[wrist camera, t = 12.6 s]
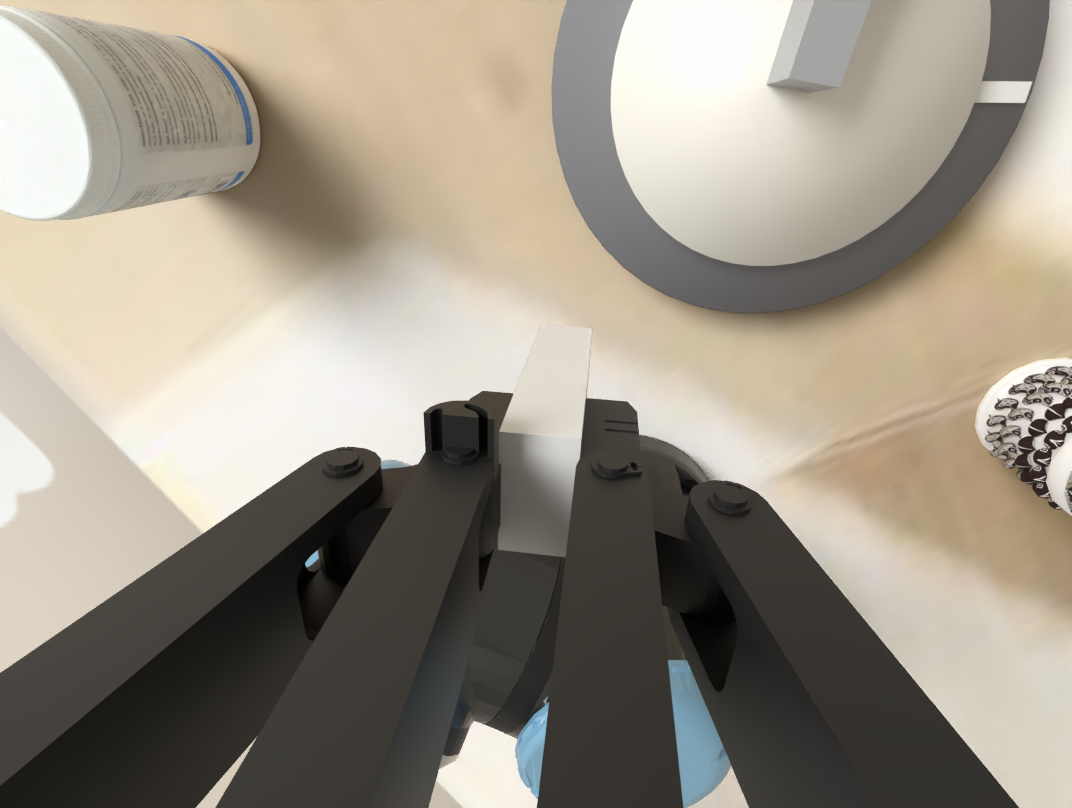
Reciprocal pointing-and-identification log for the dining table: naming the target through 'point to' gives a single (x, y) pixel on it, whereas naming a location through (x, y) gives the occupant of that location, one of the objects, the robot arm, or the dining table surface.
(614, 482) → the robot arm
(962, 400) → the dining table surface
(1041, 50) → the dial base
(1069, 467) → the decorative candle
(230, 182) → the supplement tub
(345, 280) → the dining table surface
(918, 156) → the dial
